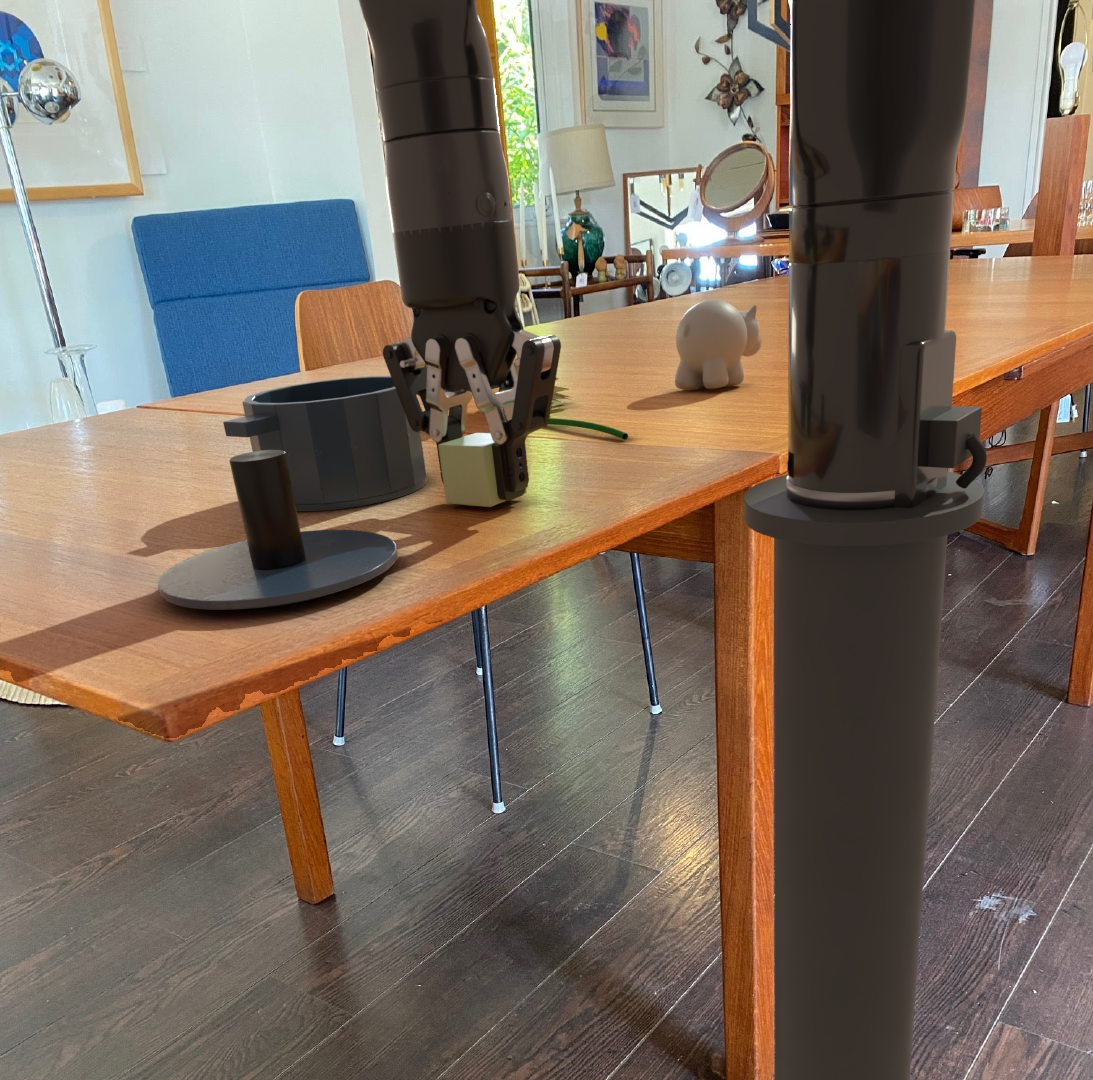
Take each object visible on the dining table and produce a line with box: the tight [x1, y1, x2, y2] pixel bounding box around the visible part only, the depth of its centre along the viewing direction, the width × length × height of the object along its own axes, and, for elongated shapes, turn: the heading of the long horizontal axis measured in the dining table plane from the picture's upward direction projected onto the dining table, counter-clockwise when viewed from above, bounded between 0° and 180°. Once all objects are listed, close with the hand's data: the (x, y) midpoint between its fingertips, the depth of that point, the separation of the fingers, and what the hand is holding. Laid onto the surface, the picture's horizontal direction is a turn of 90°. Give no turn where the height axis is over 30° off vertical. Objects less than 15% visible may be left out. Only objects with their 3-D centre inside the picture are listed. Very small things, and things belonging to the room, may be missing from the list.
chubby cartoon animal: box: [674, 299, 763, 391], centre depth 110 cm, size 7×12×8 cm, turn 134°
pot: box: [222, 375, 428, 512], centre depth 80 cm, size 12×18×8 cm
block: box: [438, 432, 527, 508], centre depth 72 cm, size 4×4×4 cm
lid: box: [157, 450, 399, 611], centre depth 60 cm, size 13×13×7 cm
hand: (485, 494), depth 73 cm, fingers closed on block, 4 cm apart
